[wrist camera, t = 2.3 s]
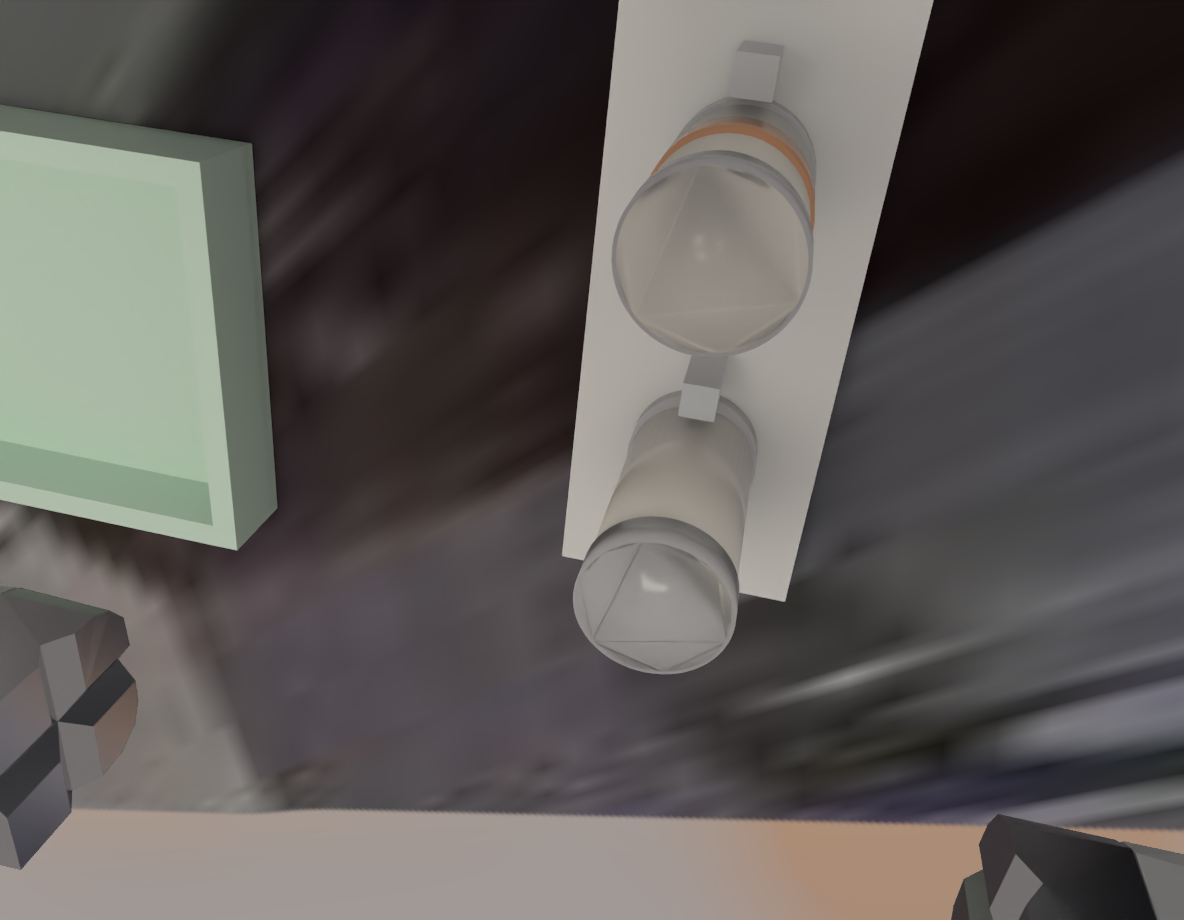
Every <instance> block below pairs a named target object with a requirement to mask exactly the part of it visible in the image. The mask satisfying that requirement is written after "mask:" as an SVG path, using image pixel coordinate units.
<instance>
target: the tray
mask: <svg viewBox="0 0 1184 920" xmlns="http://www.w3.org/2000/svg"><path fill="white" fill-rule="evenodd" d="M0 500H4V501H9V502H14V503H18V504H23V505H28V506H32V507H37V508H42V509H46V510H51V511H56V512H60V513H65V514H70V515H74V516H79V517H84V518H88V519H93V520H98V521H102V522H107V523H112V524H116V525H121V526H126V527H130V528H135V529H140V530H144V531H149V532H154V533H158V534H163V535H167V536H172V537H177V538H181V539H186V540H191V541H195V542H200V543H205V544H209V545H214V546H219V547H223V548H228V549H233V550H238V549H239V548H240V547H241V546H242V545H243V544H244V543H245V542H246V541H247V540H248V539H249V537H250V536H251V535H252V534H253V533H254V532H255V531H256V530H257V529H258V528H259V527H260V526H261V525H262V524H263V523H264V522H265V521H266V520H267V519H268V518H269V517H270V515H271V514H272V513H273V512H274V511H275V510H276V509H277V508H278V507H277V493H276V479H275V464H274V450H273V436H272V422H271V408H270V393H269V379H268V365H267V351H266V336H265V322H264V308H263V294H262V280H261V265H260V251H259V237H258V223H257V209H256V194H255V180H254V166H253V152H252V143H246V142H240V141H233V140H227V139H220V138H214V137H208V136H201V135H195V134H188V133H182V132H175V131H169V130H162V129H156V128H149V127H143V126H136V125H130V124H123V123H117V122H111V121H104V120H98V119H91V118H85V117H78V116H72V115H65V114H59V113H52V112H46V111H39V110H33V109H26V108H20V107H14V106H7V105H1V104H0Z"/></svg>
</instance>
